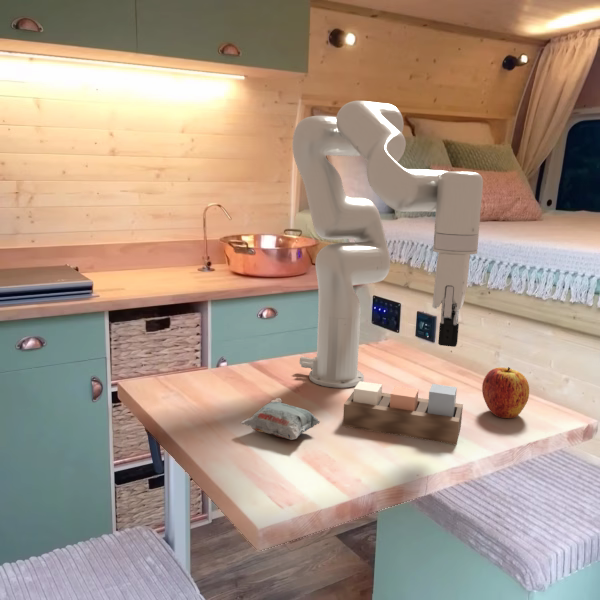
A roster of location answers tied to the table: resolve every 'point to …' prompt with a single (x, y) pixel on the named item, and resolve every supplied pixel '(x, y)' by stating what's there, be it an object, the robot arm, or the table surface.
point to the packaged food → (282, 420)
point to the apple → (505, 392)
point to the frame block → (403, 420)
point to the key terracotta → (404, 398)
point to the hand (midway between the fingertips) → (447, 344)
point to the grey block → (442, 400)
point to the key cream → (368, 393)
